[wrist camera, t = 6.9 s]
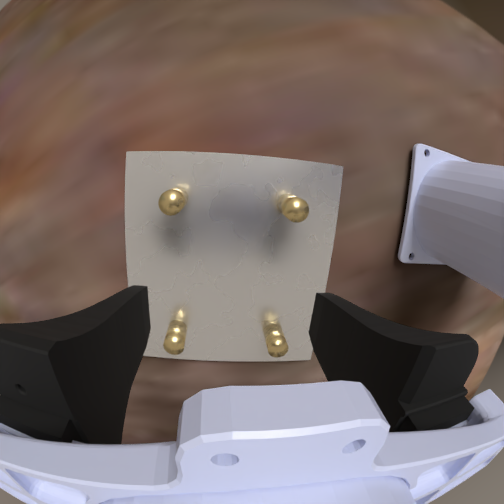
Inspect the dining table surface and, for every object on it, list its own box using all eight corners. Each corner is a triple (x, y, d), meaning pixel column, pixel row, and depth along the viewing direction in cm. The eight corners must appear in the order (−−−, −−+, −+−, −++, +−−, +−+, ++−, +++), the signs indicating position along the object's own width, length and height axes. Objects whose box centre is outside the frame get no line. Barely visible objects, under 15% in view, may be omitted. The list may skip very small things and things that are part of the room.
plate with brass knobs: (336, 165, 16) (358, 167, 13) (306, 351, 20) (318, 377, 17) (131, 152, 15) (113, 150, 12) (140, 346, 18) (130, 373, 16)
